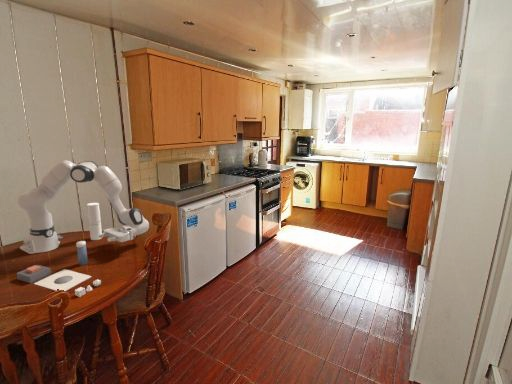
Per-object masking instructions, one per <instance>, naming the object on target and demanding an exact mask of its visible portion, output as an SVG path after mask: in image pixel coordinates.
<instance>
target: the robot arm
mask: <svg viewBox="0 0 512 384" xmlns="http://www.w3.org/2000/svg"><path fill="white" fill-rule="evenodd" d="M70 180H73V182H76V183H87V182H92V181H95V182H96V183H98V185H99V186H100V188H101V189H102V190H103V191H102V192H104V194H105V196H106V197H107V200H108V202H109V204H110V205H111V208H112V209H113V210H114V212H115V214H116V217H117V220H118V223H120V224H121V225H120V226H119V227H118V228H117V227H110V228H106V229H103V230H102V234H101V235H99V238H101V239H102V238H104V237H107V238H106V241H107V242H108V243H109V242H116V241H117V242H119V243H124V242H127V241H132V240H134V236H139V235H142V234H144V233H146V232H147V231H148V230H149V228H150V223H149V221H148V220H147V219H146V218H145V217H144V216H143V213H142V211H141V209H139V208H137V207H132V208H128V209H127V208H125V206H124V204H123V202H122V200H121V199H120V194H121V192H122V190H123V185H122V182H121V181H120V179H119V178H118V176H117V175H116V174H115V173H114V172H113V171H112V169H111V168H109V166H106V165H101V166H98V164H97V163H96V162H94V161H91V160H85V161H82V162H79V163H77V164H76V163H74V162H72V161H71V160H67V159H65V160H62V161H60V162H58V163H57V164H56V165H55V166H54V167H52V168H51V170H49V172H47V173H46V174H45V175H44V177H42V179H41V182H40V183H39V185H38V186H36V187H35V188H33V189H30V190H27V191H25V192H23V193H21V195H19V196H18V198H17V204H18V206H19V207H20V208H22V209H23V210H25V211H26V214H27V215H28V219H29V223H30V228H29V229H28V230H29V234H28V235H27V236H26V237H25V238H24V239H23V245H21V246H20V247H19V249H20V250H21V251H23V252H26V253H27V254H30V255H31V254H32V255H33V254H36V253H37V254H38V253H39V254H40V253H45V252H50V251H53V250H55V249H57V248H59V247H60V244H61V241H59V239H58V238H57V234H58V233H57V232H56V231H55V230H56V229H55V225H54V223H53V216H52V215H53V214H52V213H51V212H50V211H48V210H47V207H46V204H49V203H51V202H52V201H53V200H54V199H55V198H56V196H57V194H59V192H60V191H61V189H63V187H65V185H66V184H67V183H69V182H70Z"/></svg>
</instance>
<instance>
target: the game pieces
mask: <svg viewBox="0 0 512 384" xmlns="http://www.w3.org/2000/svg"><path fill="white" fill-rule="evenodd" d="M92 284H93V286H94V287H98V286H100V285H101V284H102V280H101V279H95V280H93V281H92ZM90 291H93V287H92V286H91V285H87V286H86V288H85V287H82V286H80V287H78V288H75V290H74V294H75V296H77V297H80V298H81V297H82V296H84V295H86V292H90Z"/></svg>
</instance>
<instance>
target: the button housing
mask: <svg viewBox="0 0 512 384" xmlns="http://www.w3.org/2000/svg"><path fill="white" fill-rule="evenodd" d="M35 265H36V266H40V267H41V270H39V271H37V272H34V273H32V274H31V273H28V272H26V269H27V268H26V269H22V270H21V271H18V272H16V279H17V280H19V281H22V282H25V283H29V284H34V283H36V281H37V282H38V281H40V280H42V279H44V278H47V277H49V276H51V275H52V271H51V268H50V267H48V266H45V265H44V266H43V265H40V264H35Z"/></svg>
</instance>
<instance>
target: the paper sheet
mask: <svg viewBox="0 0 512 384" xmlns="http://www.w3.org/2000/svg"><path fill="white" fill-rule="evenodd" d="M91 278H92V276H91V275H89V274H85V273H80V272H77V271H75V270H70V269H65V268H64V269H61V270H60V271H58V272H55V273H53V274H50V275H48V276H46V277H43V278H41V279H39V280H37V282H36V281H35V282H33V285H36V286H38V287H42V288H46V289H48V290H51V291H52V290H53V291H55V292H58V291H57V289H59V290H64V291H65V292H66V291H68V290H71V289H73V288H74V287H76V286H78V285H79V284H81V283H84V282H85V281H87V280H89V279H91Z"/></svg>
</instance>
